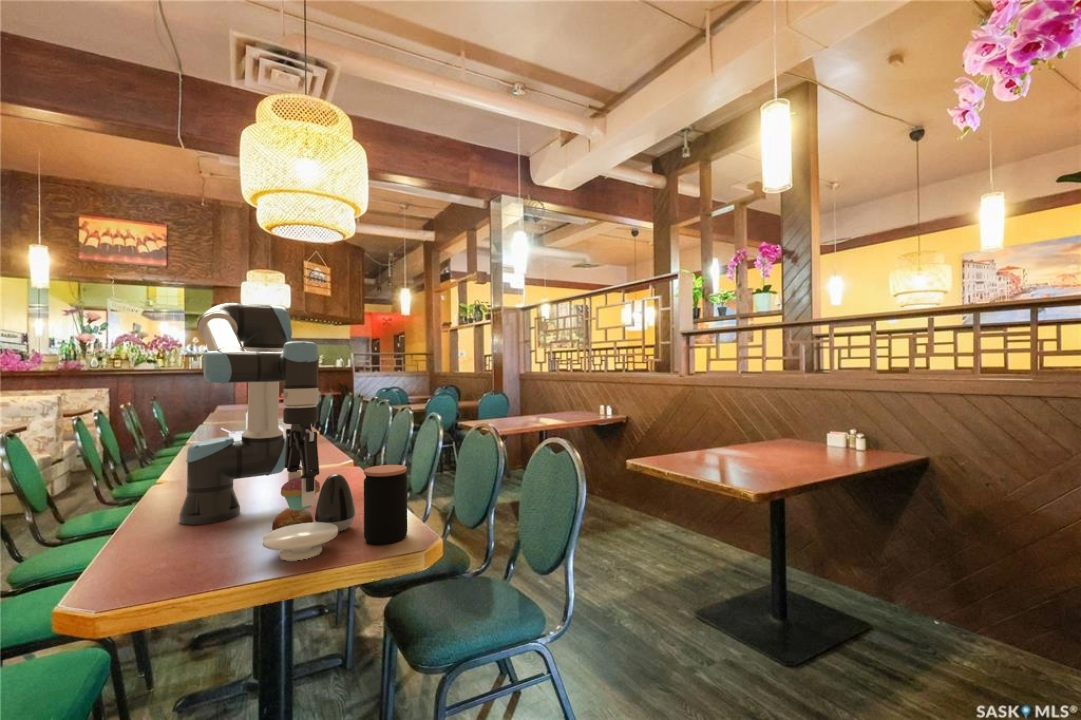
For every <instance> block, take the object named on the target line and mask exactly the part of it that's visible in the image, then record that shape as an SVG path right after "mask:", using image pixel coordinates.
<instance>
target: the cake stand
mask: <svg viewBox="0 0 1081 720" xmlns="http://www.w3.org/2000/svg"><path fill="white" fill-rule="evenodd" d="M338 534H339V532H338V527H337V526H336V525H334V524H331V523H323V522H316V521H314V522H312V523H302V524H295V525H290V526H286V527H282V528H279V529H276V530H273V531H272V530H271V531H269V532H267V533H266V534H264V535H263V537H262V547H263V548H266V549H269V550H274V551H280V552H279V560H281V559H282V560H281V561H283V560H286V561H285V562H298V561H297V560H301V561H304V560H303V559H306V560H309V559H308V558H310V559H312V558H311V557H313V558H315V557H314V556H316V557H318V556H319V555H320V553H321V552H322V553H323V545H322V544H325V543H328V542H330V541H332V540H333V539H334V538H336V537H337V536H338ZM317 555H318V556H317Z"/></svg>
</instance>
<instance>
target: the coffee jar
mask: <svg viewBox="0 0 1081 720" xmlns="http://www.w3.org/2000/svg"><path fill="white" fill-rule="evenodd" d="M407 470H408V468H407V466H405V465H401V464H384V465H375V466H370V467H366V468H365V469H364V470H363V474H364V475H365V477H364V479H363V537H364V540H365V541H366V542H367V543H368V544H370V545H374V546H386V545H387V544H388V545H392V544H396V543H399V542H401V541H403V540H404V539H405V538H406V536H407V534H408V476H407V475H406V473H407ZM388 545H387V546H388Z"/></svg>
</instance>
